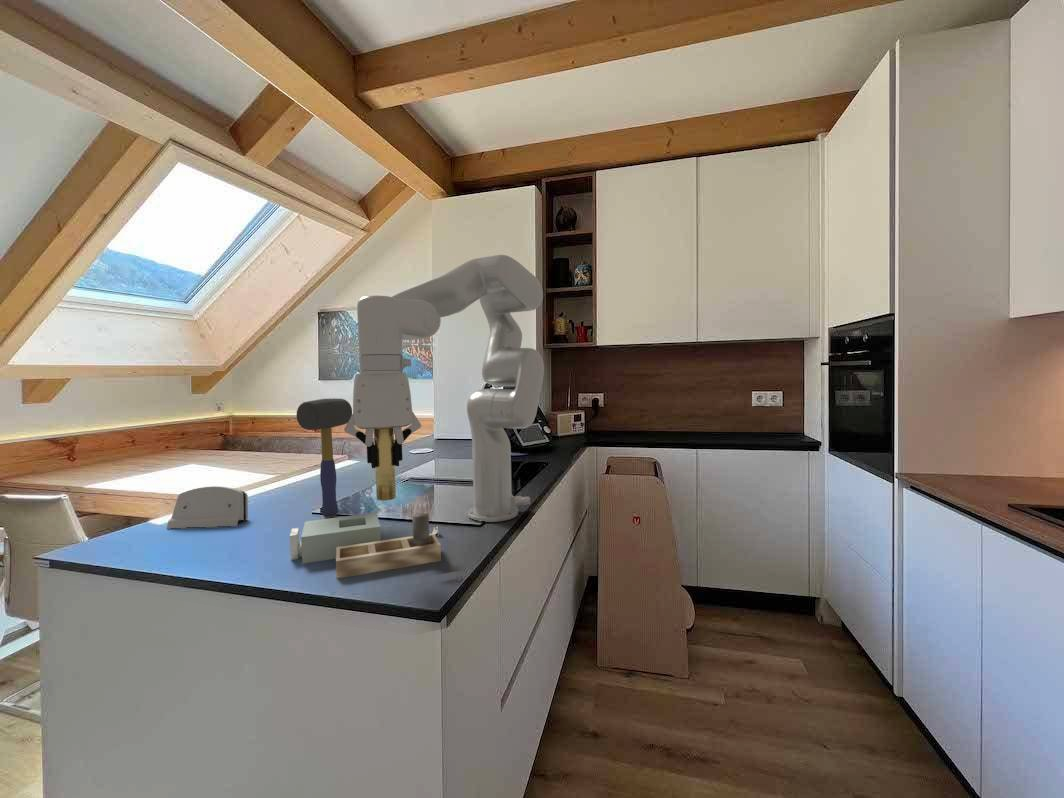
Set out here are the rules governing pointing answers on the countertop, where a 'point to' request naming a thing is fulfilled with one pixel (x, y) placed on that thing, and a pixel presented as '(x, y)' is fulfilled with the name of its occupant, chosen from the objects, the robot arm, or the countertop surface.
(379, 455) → the gold cylindrical peg
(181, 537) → the countertop surface
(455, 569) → the countertop surface
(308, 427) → the rubber mallet
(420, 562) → the rack
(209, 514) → the grey rounded block
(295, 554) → the t-shaped push slider
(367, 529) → the socket block
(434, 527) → the adhesive hook
